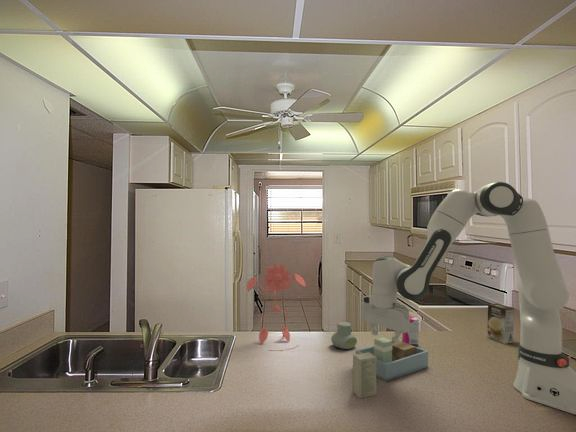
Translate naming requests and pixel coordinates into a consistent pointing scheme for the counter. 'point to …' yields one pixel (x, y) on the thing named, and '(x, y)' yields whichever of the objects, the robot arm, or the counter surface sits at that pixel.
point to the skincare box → (364, 374)
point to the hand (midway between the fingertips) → (384, 338)
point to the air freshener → (344, 336)
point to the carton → (383, 349)
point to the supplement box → (412, 332)
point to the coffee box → (500, 323)
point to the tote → (398, 364)
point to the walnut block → (402, 350)
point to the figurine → (275, 281)
